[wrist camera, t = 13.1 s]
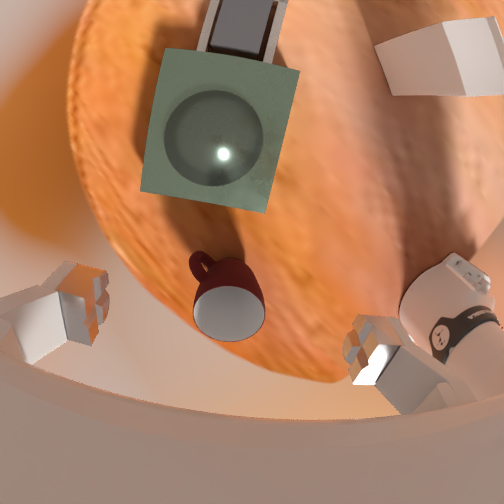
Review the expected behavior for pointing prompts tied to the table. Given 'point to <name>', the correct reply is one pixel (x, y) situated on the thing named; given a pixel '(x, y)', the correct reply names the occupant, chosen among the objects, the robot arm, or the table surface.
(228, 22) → the grey rectangular block
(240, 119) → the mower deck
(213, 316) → the mug
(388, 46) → the milk carton
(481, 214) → the table surface
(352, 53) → the table surface
